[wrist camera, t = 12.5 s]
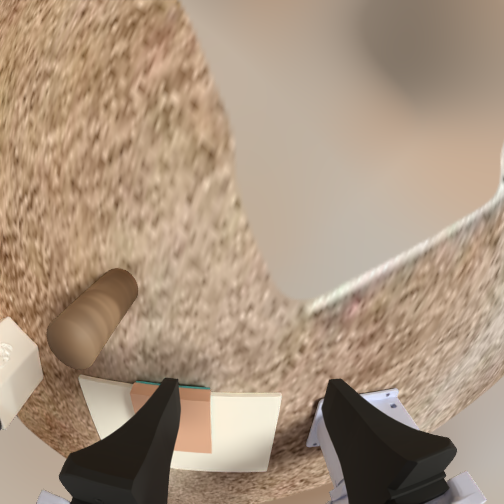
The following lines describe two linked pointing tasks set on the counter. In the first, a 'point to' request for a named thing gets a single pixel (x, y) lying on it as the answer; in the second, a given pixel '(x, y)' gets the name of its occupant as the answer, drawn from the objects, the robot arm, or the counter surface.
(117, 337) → the counter surface
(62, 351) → the pestle
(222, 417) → the board
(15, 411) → the jar
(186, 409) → the tile
